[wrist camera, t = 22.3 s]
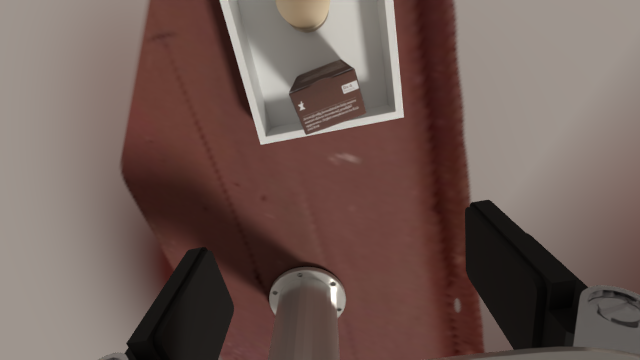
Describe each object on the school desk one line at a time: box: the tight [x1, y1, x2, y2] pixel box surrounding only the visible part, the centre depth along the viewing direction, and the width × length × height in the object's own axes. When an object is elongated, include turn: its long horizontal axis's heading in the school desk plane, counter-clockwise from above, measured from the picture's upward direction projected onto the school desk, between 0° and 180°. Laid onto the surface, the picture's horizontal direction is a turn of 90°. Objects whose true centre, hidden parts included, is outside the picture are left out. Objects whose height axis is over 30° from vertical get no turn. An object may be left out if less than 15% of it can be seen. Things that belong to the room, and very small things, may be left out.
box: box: [289, 59, 367, 135], centre depth 32 cm, size 6×4×12 cm
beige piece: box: [275, 0, 330, 33], centre depth 31 cm, size 5×5×7 cm
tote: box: [220, 0, 404, 145], centre depth 34 cm, size 18×17×5 cm
